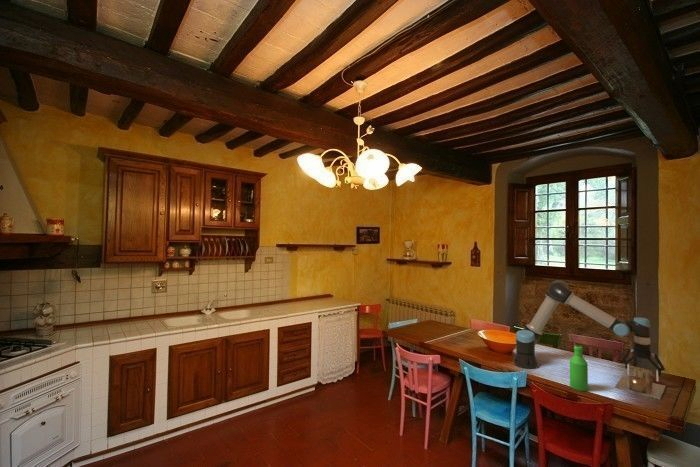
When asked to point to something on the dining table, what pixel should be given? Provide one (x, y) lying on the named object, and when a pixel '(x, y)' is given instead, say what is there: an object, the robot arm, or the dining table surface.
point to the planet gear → (643, 374)
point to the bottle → (578, 371)
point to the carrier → (640, 386)
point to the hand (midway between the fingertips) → (642, 377)
